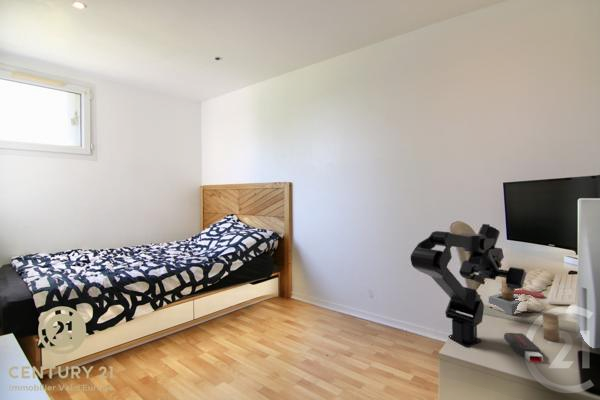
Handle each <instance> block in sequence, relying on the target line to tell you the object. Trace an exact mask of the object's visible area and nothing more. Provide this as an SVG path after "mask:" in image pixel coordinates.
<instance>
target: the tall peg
mask: <svg viewBox="0 0 600 400" xmlns="http://www.w3.org/2000/svg"><path fill="white" fill-rule="evenodd" d="M501 289H502V290H501V293H502V299H503V300H506V301H509V302H511V301H514V296H515V295H514V294H513V291H512V290H511V289H509V288H508V287H507V284H506V278H504V277H501Z"/></svg>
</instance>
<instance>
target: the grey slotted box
mask: <svg viewBox="0 0 600 400" xmlns="http://www.w3.org/2000/svg"><path fill="white" fill-rule="evenodd" d="M519 297H520V296H518V295H514V301H511V302H509V301H506V300H503V299H502V292H500V293H497V294H493V295H490V296H488V304H489V303H490V304H493V305H496V306H498V307H500V308H502V309H503V310H504V311H505V312H506V313H507V315H509V316H515V315H514V312H515V310H516V309H517V306H518V304H519V303H520V302H522V301H519V300H515V299H518V298H519ZM525 299H526V298H525ZM527 300H528V299H526V300H524V301H527ZM506 313H505V314H506Z"/></svg>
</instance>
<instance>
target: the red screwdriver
mask: <svg viewBox="0 0 600 400" xmlns="http://www.w3.org/2000/svg"><path fill="white" fill-rule="evenodd" d="M499 290H501V291H502V288H499ZM513 294H518V295H517V296H520V295H521V294H525V295H531V296H533V297H535V298H534V299H538V300H539V299H540V300H541V299H544V298H545V295H544V294H543V293H541V292H537V291H532V290H526V289H522V290H515V289H514V291H513ZM519 294H520V295H519Z"/></svg>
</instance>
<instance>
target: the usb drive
mask: <svg viewBox="0 0 600 400" xmlns="http://www.w3.org/2000/svg"><path fill="white" fill-rule="evenodd" d="M503 340H505V342H506V343H507V344H508V345H509V346H510V347H511V348H512V349H513V350H514V351H515V352H516V354H518V355H519V356H520V357H522V358H525V359H526V360H527V361H528V362H530V363H532V362H533V363H535V362H536V363H544V356H543V355H542V354H541V349H540V348H539V347H538V346H537V345H536V344H534V342H533V341H532V340H531V339H530V338H529V337H527V336H526V335H525V334H524V333H520V332H505V333H504V335H503Z"/></svg>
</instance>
